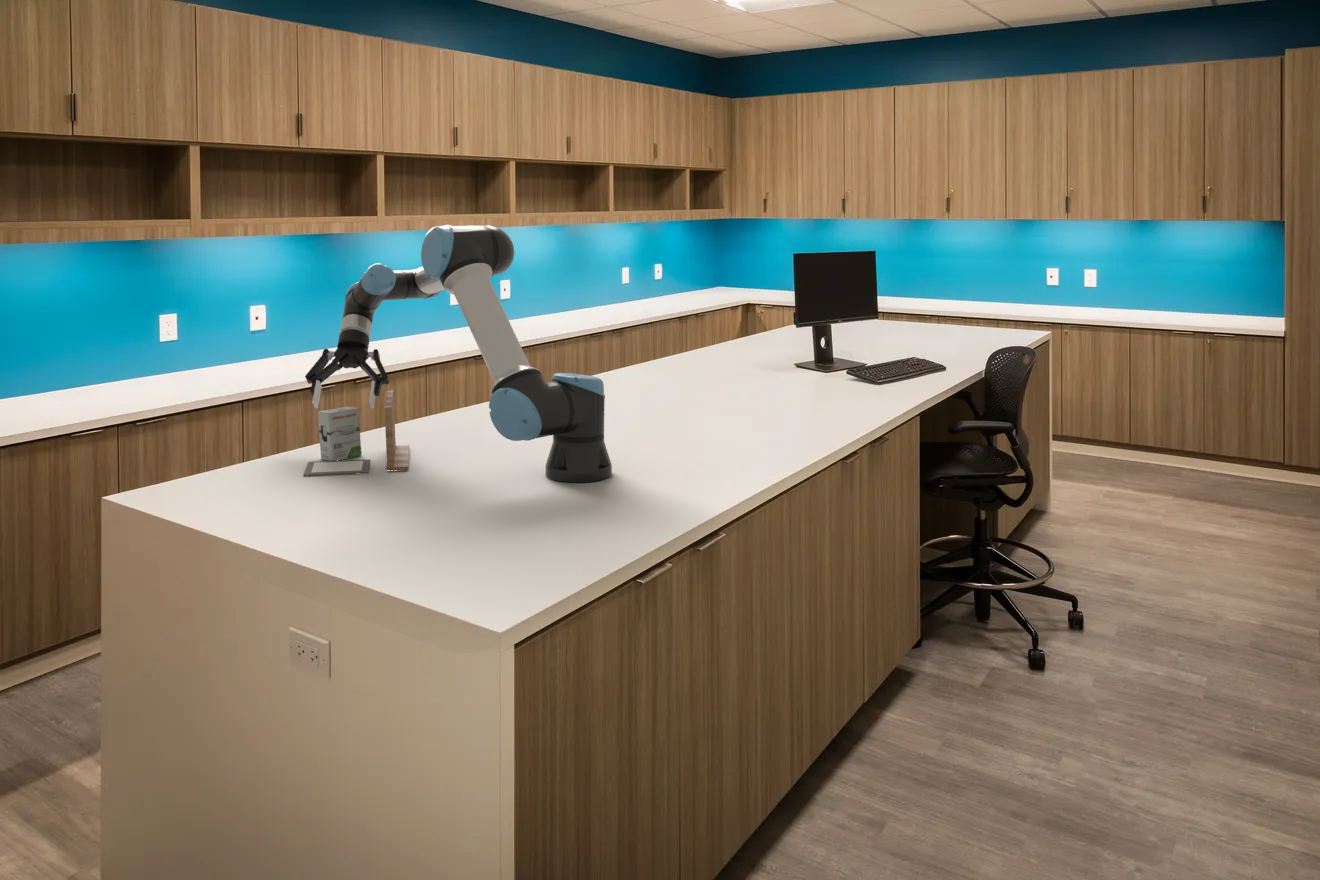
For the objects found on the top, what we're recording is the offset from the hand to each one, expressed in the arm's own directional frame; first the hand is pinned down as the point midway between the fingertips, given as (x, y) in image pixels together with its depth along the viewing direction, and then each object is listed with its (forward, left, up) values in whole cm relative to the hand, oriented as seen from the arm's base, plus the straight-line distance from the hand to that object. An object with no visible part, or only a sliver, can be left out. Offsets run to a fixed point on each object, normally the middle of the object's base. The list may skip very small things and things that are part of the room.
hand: (343, 405), depth 256 cm
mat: (-18, +1, -11) cm, 21 cm away
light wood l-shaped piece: (-12, -13, -11) cm, 21 cm away
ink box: (-7, +1, -12) cm, 14 cm away
